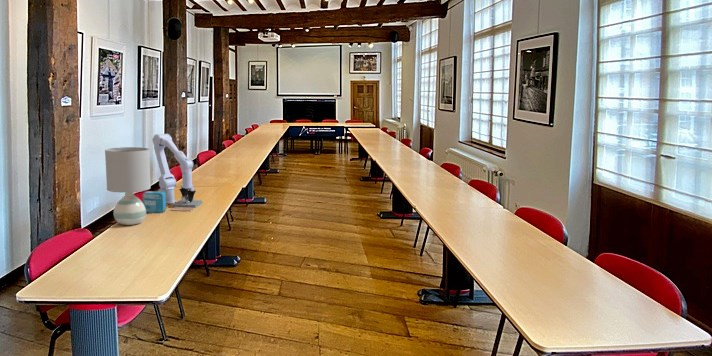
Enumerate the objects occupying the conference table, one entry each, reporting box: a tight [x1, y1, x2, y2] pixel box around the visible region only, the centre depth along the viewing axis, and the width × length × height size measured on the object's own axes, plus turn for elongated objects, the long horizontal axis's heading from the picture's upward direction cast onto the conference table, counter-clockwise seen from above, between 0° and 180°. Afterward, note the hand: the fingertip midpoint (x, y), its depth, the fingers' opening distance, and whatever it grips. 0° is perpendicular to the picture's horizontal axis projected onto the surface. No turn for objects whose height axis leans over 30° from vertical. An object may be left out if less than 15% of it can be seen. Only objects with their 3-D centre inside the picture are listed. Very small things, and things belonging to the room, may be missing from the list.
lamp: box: [104, 146, 151, 226], centre depth 291 cm, size 22×22×40 cm
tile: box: [170, 207, 196, 212], centre depth 329 cm, size 12×8×1 cm, turn 88°
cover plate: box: [172, 199, 203, 209], centre depth 341 cm, size 14×14×2 cm
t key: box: [180, 195, 195, 203], centre depth 341 cm, size 7×3×6 cm, turn 133°
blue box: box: [142, 190, 167, 214], centre depth 321 cm, size 12×4×12 cm, turn 88°
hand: (187, 200), depth 341 cm, fingers open, 7 cm apart
